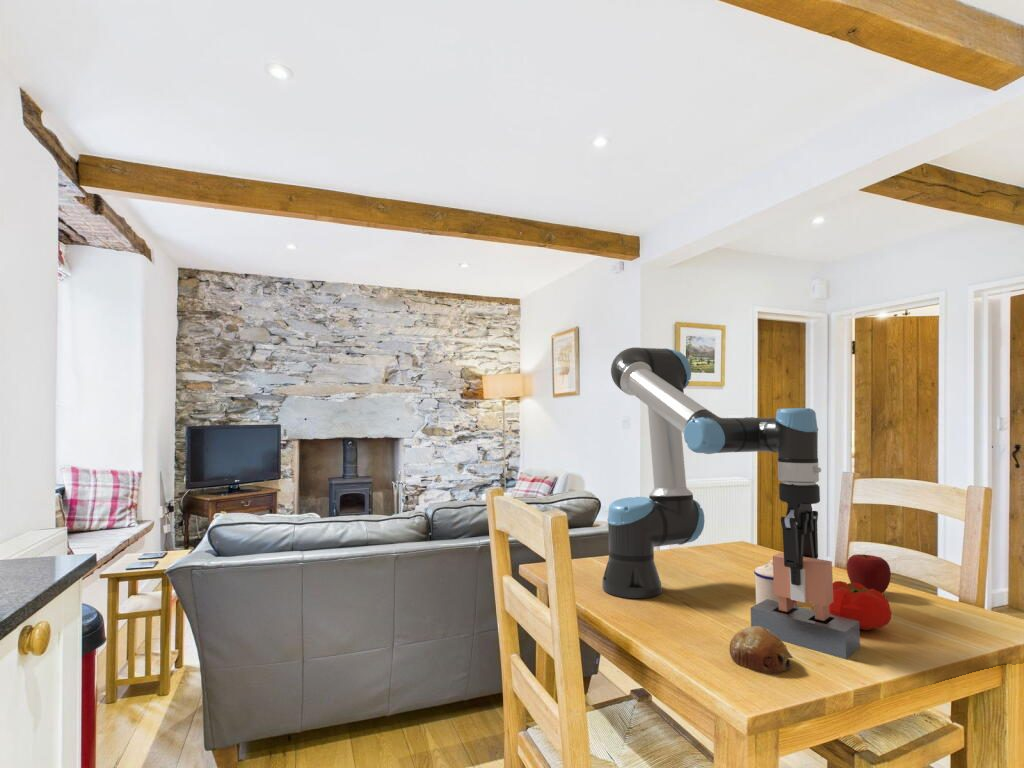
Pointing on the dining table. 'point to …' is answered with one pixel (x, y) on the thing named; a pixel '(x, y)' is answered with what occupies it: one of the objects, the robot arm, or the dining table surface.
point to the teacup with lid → (766, 583)
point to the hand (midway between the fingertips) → (802, 597)
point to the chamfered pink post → (816, 584)
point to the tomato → (860, 605)
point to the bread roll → (759, 650)
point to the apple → (869, 571)
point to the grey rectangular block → (808, 628)
